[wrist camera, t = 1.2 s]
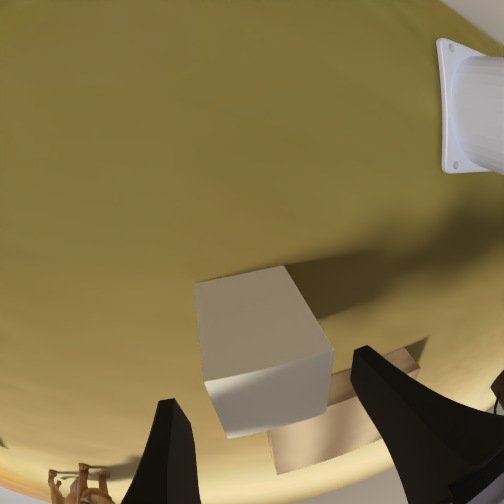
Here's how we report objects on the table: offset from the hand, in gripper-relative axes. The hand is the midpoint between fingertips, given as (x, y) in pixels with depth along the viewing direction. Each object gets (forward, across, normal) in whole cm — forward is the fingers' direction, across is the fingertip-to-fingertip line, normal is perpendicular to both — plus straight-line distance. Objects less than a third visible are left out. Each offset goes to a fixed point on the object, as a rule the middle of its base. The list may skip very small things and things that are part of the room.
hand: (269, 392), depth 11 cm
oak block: (+6, -6, +14) cm, 16 cm away
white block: (+5, 0, 0) cm, 5 cm away
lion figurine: (+6, +23, +19) cm, 31 cm away
